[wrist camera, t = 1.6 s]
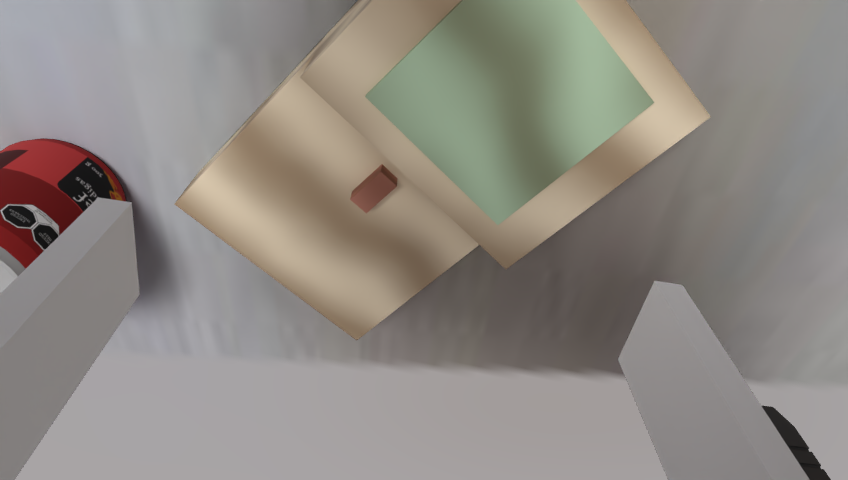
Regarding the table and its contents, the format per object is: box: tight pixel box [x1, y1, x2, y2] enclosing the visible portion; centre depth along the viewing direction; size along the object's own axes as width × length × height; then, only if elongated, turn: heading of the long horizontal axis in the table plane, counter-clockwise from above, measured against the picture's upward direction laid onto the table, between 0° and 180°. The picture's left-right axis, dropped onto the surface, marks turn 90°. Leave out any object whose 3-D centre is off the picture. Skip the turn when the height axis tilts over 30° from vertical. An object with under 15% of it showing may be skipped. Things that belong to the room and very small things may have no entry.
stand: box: [175, 0, 711, 340], centre depth 32 cm, size 24×14×8 cm, turn 134°
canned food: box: [0, 139, 126, 294], centre depth 33 cm, size 8×8×11 cm
